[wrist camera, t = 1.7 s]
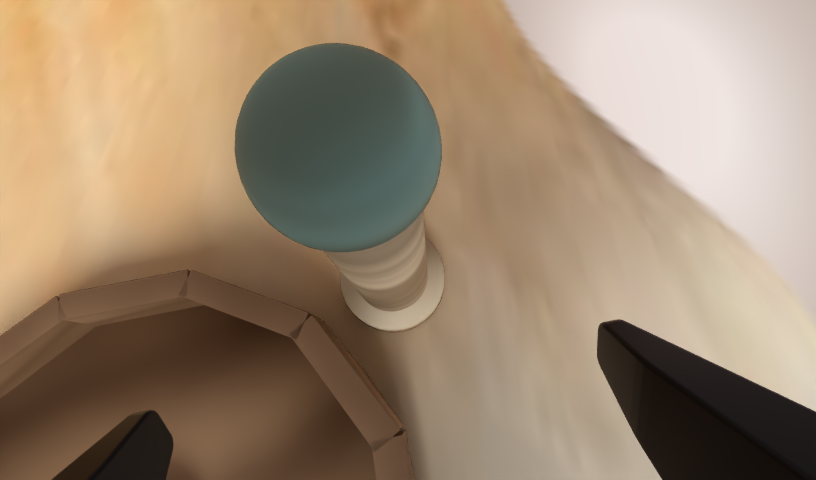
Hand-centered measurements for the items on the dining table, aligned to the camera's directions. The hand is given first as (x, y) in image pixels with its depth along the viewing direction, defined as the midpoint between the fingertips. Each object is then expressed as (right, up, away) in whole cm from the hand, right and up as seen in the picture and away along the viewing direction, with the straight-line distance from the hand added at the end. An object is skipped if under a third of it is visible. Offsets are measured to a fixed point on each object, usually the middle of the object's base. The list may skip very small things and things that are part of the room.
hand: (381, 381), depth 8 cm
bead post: (0, +1, +13) cm, 13 cm away
